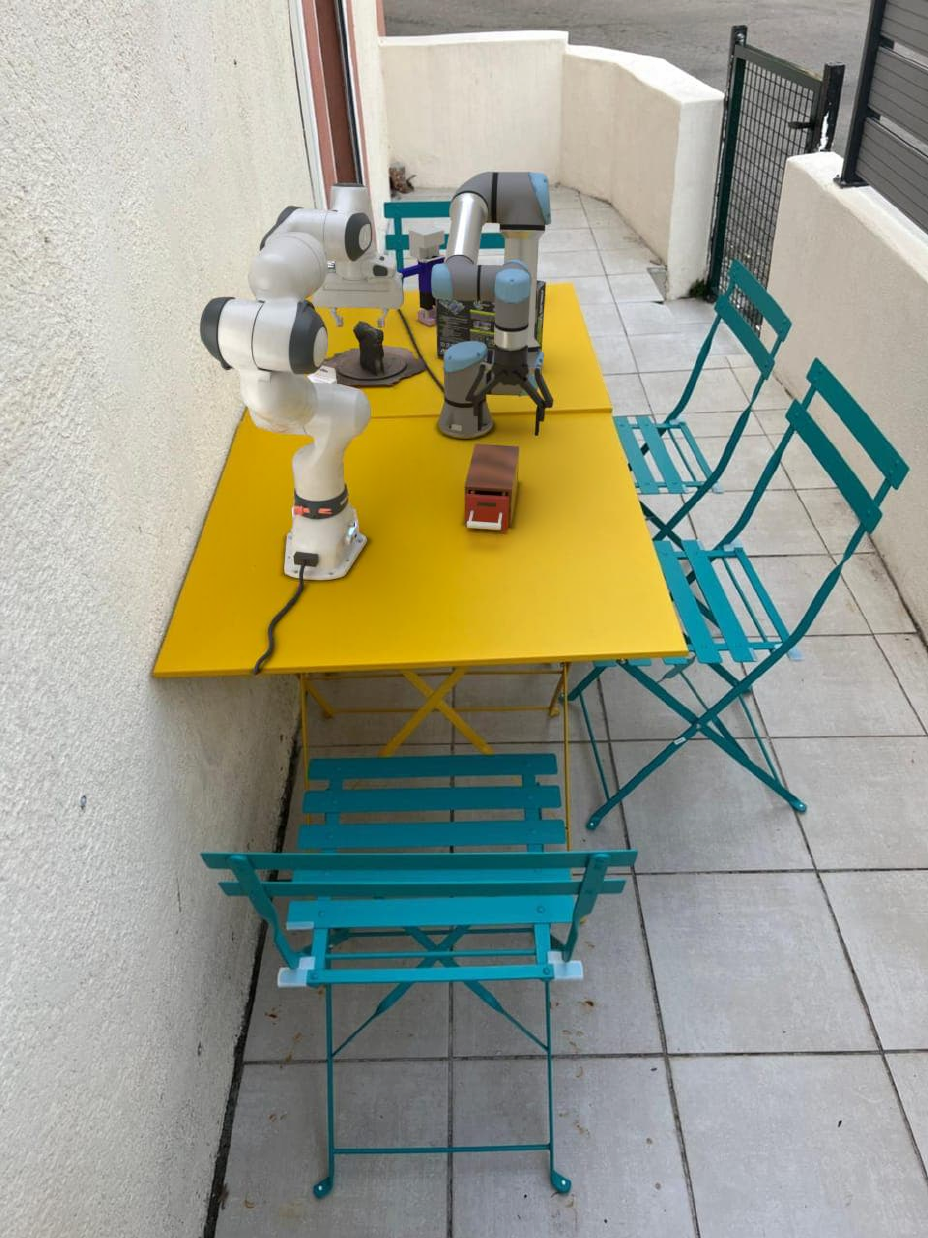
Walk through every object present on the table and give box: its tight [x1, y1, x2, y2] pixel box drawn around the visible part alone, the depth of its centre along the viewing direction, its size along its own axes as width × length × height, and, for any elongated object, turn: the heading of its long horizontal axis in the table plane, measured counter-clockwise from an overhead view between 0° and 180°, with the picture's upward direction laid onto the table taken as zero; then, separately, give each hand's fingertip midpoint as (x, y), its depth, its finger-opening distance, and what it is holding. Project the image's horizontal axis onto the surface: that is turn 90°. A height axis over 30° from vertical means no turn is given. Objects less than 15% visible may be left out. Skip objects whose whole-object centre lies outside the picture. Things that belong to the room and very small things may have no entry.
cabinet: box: [464, 443, 520, 528], centre depth 215 cm, size 20×11×11 cm, turn 172°
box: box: [435, 279, 547, 359], centre depth 273 cm, size 34×7×27 cm, turn 68°
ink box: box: [307, 366, 337, 384], centre depth 249 cm, size 9×5×15 cm, turn 62°
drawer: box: [465, 490, 509, 531], centre depth 210 cm, size 25×10×9 cm, turn 172°
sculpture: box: [319, 320, 426, 387], centre depth 273 cm, size 33×35×16 cm
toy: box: [397, 223, 446, 327], centre depth 298 cm, size 35×10×30 cm, turn 130°
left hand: (360, 326), depth 199 cm, fingers open, 8 cm apart
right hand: (508, 430), depth 209 cm, fingers open, 13 cm apart
